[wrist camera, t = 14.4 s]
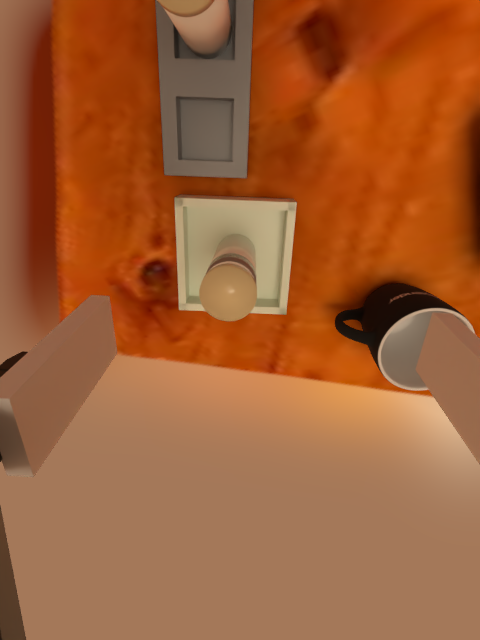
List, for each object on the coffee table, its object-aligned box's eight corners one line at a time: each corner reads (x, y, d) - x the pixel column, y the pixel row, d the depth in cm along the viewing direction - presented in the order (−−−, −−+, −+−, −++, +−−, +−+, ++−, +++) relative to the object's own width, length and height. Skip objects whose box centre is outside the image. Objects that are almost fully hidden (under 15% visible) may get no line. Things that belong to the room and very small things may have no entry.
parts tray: (180, 194, 38) (174, 197, 36) (293, 198, 38) (296, 202, 35) (183, 299, 43) (179, 309, 41) (284, 304, 43) (286, 314, 40)
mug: (438, 276, 41) (491, 311, 32) (416, 345, 45) (458, 394, 36) (333, 267, 41) (356, 301, 32) (320, 337, 45) (337, 385, 36)
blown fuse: (215, 231, 39) (198, 265, 28) (258, 234, 39) (258, 268, 28) (215, 272, 41) (199, 319, 30) (255, 274, 41) (255, 322, 30)
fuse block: (160, -30, 31) (101, -145, 19) (254, -28, 31) (255, -141, 19) (169, 173, 37) (130, 183, 26) (246, 176, 37) (244, 188, 25)
